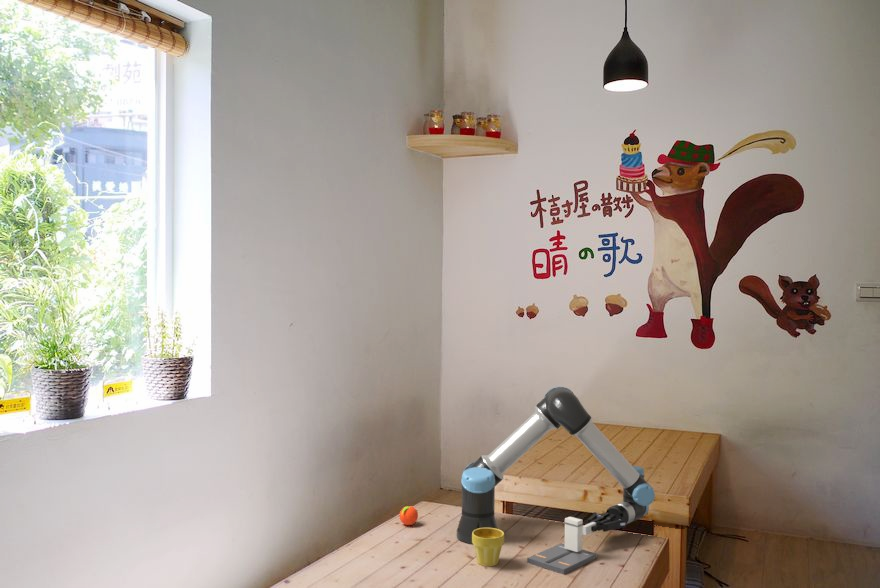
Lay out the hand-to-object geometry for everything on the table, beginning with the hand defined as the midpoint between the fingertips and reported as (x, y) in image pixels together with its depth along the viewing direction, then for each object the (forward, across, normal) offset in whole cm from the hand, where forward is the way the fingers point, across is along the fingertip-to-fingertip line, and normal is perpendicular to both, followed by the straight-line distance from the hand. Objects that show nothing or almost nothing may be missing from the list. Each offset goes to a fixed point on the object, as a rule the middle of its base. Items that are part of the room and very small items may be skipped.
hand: (584, 530), depth 250 cm
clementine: (+23, +62, -7) cm, 66 cm away
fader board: (+12, 0, -7) cm, 14 cm away
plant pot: (+31, +17, -7) cm, 36 cm away
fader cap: (+6, 0, -5) cm, 8 cm away
